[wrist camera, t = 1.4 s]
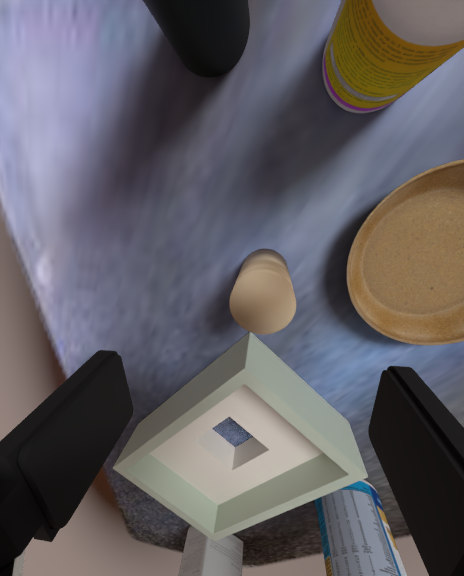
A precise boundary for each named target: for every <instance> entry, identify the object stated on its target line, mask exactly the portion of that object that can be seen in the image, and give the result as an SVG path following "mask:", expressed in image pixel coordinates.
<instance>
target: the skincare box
mask: <svg viewBox="0 0 464 576" xmlns="http://www.w3.org/2000/svg"><path fill="white" fill-rule="evenodd" d="M242 558H243V541H241V540H240V539H238V538H237V537H236V536H234V535H233V534H231V535H228V536H226V537H224V538H221V539H219V540H216V541H213V540H211V539H210V538H209V537H207V536H206V535H204V534H203V533H202V532H200V531H199V530H197V529H196V528H195V527H193V526H190V527H189V529H188V533H187V537H186V542H185V547H184V552H183V556H182V561H181V567H180V571H179V576H242Z"/></svg>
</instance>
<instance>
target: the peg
mask: <svg viewBox="0 0 464 576" xmlns="http://www.w3.org/2000/svg"><path fill="white" fill-rule="evenodd" d="M229 305H230V311H231V314H232V316H233V318H234V319H235V321H236V322H237V323H238V324H239V325H240V326H241V327H242V328H244V329H246V330H248V331H250V332H253V333H257V334H271V333H274V332H277V331H279V330H281V329H283V328H284V327H286V326H287V325H288V324H289V323H290V321H291V320H292V318H293V316H294V314H295V311H296V298H295V294H294V291H293V287H292V283H291V279H290V275H289V271H288V267H287V264H286V261H285V260H284V258H283V257H282V256H281V255H280V254H279V253H278V252H276V251H274V250H271V249H259V250H256V251H254V252H252V253H251V254H250V255H248V257H247V258H246V259H245V261H244V263H243V265H242V268H241V270H240V273H239V275H238V278H237V280H236V283H235V285H234V288H233V290H232V293H231V296H230V301H229Z"/></svg>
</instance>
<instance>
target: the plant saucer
mask: <svg viewBox="0 0 464 576" xmlns="http://www.w3.org/2000/svg"><path fill="white" fill-rule="evenodd" d="M347 287H348V291H349V295H350V298H351V301H352V303H353V306H354V307H355V309H356V310H357V312H358V314H359V315H360V316H361V317H362V319H363V320H364V321H365V322H366V323H367V324H369V325H370V326H371V327H372V328H373V329H375V330H376V331H378V332H380V333H381V334H383V335H385V336H387V337H389V338H391V339H394V340H397V341H401V342H404V343H409V344H416V345H444V344H451V343H457V342H461V341H464V159H463V160H458V161H454V162H450V163H446V164H443V165H441V166H437V167H434V168H432V169H429V170H427V171H425V172H423V173H420V174H418V175H416V176H415V177H413V178H411V179H410V180H408V181H407V182H405V183H403V184H402V185H401V186H399V187H398V188H396V189H395V190H393V191H392V192H391V193H390V194H389V195H388V196H387V197H385V198H384V199H383V200H382V201H381V202H380V203H379V204H378V205H377V206H376V208H375V209H374V210H373V211H372V212H371V213H370V215H369V216H368V217H367V219H366V220H365V221H364V223H363V224H362V226H361V228H360V229H359V231H358V233H357V235H356V237H355V239H354V242H353V244H352V247H351V250H350V253H349V257H348V262H347Z"/></svg>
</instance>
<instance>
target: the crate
mask: <svg viewBox="0 0 464 576" xmlns="http://www.w3.org/2000/svg"><path fill="white" fill-rule="evenodd" d="M228 417H231V418H232V419H233V420H234V421H235V422H237V423H238V424H239V425H240V426H241V427H243V428H244V429H245V430H246V431H247V432H249V433H250V434H251V435H252V436H253V437H252V438H250V439H248V440H247V441H245V442H243V443H242V444H240V445H238V446H237V447H234V446H233V445H231V444H230V443H229V442H228V441H226V440H225V439H224V438H223V437H222V436H220V435H219V434H218V433H217V432H215V431H214V430H213V429H212V428H213V427H214V426H216V425H217V424H219V423H220V422H222V421H223V420H225V419H226V418H228ZM113 469H114V470H116V471H117V472H118V473H120V474H121V475H122V476H124V477H125V478H127V479H128V480H129V481H131V482H132V483H134V484H135V485H136V486H138V487H139V488H141V489H142V490H143V491H145V492H146V493H147V494H149V495H150V496H152V497H153V498H154V499H156V500H157V501H159V502H160V503H161V504H163V505H164V506H166V507H167V508H168V509H170V510H171V511H172V512H174V513H175V514H177V515H178V516H179V517H181V518H182V519H184V520H185V521H186V522H188V523H189V524H191V525H192V526H193V527H195V528H196V529H197V530H199V531H200V532H202V533H203V534H204V535H206V536H207V537H209V538H210V539H211V540H213V541H216V540H219V539H221V538H224V537H226V536H228V535H231V534H233V533H236V532H238V531H240V530H243V529H245V528H248V527H250V526H252V525H255V524H257V523H260V522H262V521H264V520H267V519H269V518H272V517H274V516H276V515H279V514H281V513H284V512H286V511H288V510H291V509H293V508H296V507H298V506H300V505H303V504H305V503H308V502H310V501H312V500H315V499H317V498H319V497H322V496H324V495H327V494H329V493H331V492H334V491H336V490H339V489H341V488H343V487H346V486H348V485H351V484H353V483H355V482H358V481H360V480H363V479H365V478H367V477H368V475H367V472H366V470H365V467H364V464H363V461H362V458H361V455H360V453H359V450H358V447H357V444H356V441H355V438H354V436H353V433H352V430H351V427H350V424H349V422H348V421H347V420H346V419H345V418H344V417H343V416H342V415H341V414H339V413H338V412H337V411H336V410H335V409H334V408H333V407H332V406H331V405H330V404H329V403H327V402H326V401H325V400H324V399H323V398H322V397H321V396H320V395H319V394H318V393H317V392H316V391H314V390H313V389H312V388H311V387H310V386H309V385H308V384H307V383H306V382H305V381H304V380H302V379H301V378H300V377H299V376H298V375H297V374H296V373H295V372H294V371H293V370H292V369H291V368H289V367H288V366H287V365H286V364H285V363H284V362H283V361H282V360H281V359H280V358H279V357H277V356H276V355H275V354H274V353H273V352H272V351H271V350H270V349H269V348H268V347H267V346H266V345H264V344H263V343H262V342H261V341H260V340H259V339H258V338H257V337H256V336H255V335H254V334H252V333H251V332H249V333H248V334H246V335H245V336H244V337H243V338H242V339H240V340H239V341H238V342H237V343H235V344H234V345H233V346H232V347H231V348H229V349H228V350H227V351H226V352H225V353H223V354H222V355H221V356H220V357H219V358H217V359H216V360H215V361H214V362H212V363H211V364H210V365H209V366H208V367H206V368H205V369H204V370H203V371H202V372H200V373H199V374H198V375H197V376H195V377H194V378H193V379H192V380H191V381H189V382H188V383H187V384H186V385H185V386H183V387H182V388H181V389H180V390H179V391H177V392H176V393H175V394H174V395H172V396H171V397H170V398H169V399H168V400H166V401H165V402H164V403H163V404H162V405H160V406H159V407H158V408H157V409H156V410H154V411H153V412H152V413H151V414H149V415H148V416H147V417H146V418H145V419H143V420H142V421H141V422H140V423H139V424H138V425H137V427H136V429H135V430H134V432H133V434H132V435H131V437H130V439H129V441H128V442H127V444H126V446H125V448H124V449H123V451H122V453H121V454H120V456H119V458H118V460H117V461H116V463H115V465H114V466H113Z"/></svg>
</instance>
